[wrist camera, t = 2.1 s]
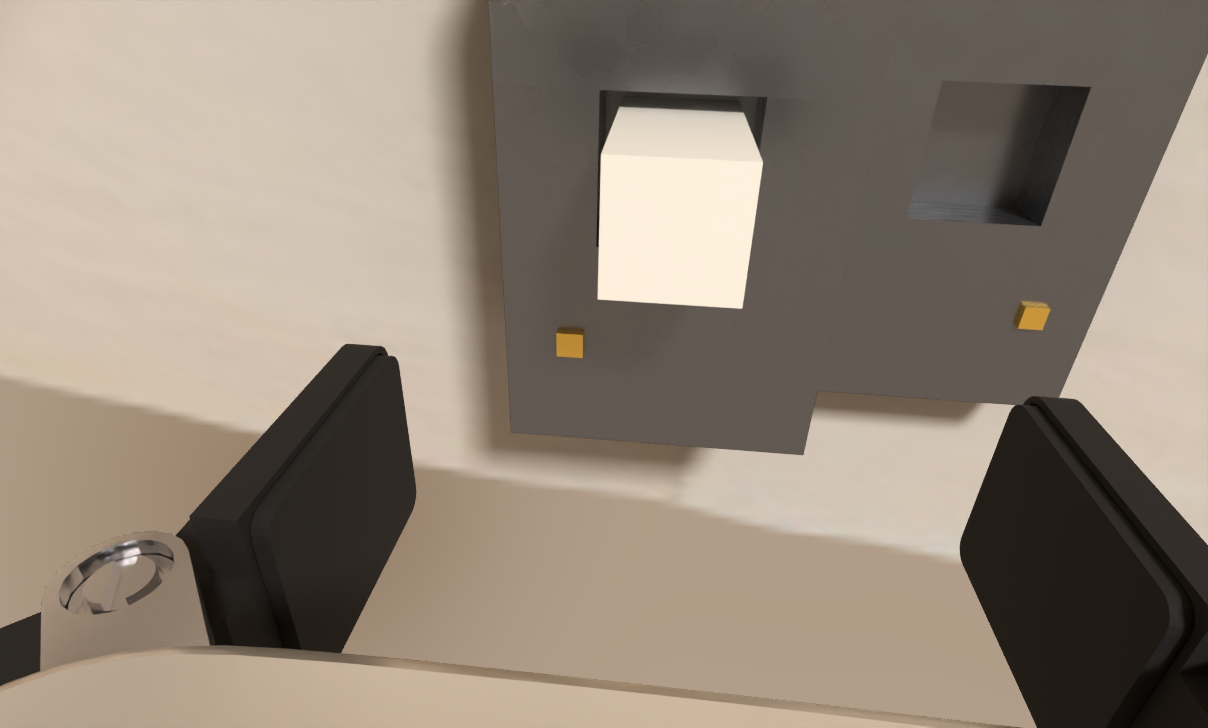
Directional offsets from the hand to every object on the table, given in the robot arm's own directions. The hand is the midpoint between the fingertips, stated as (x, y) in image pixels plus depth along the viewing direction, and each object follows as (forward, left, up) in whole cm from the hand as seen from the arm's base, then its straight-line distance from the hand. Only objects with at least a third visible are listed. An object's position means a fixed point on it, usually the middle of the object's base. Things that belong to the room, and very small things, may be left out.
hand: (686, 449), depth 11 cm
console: (0, +6, -23) cm, 24 cm away
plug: (0, 0, -17) cm, 17 cm away
